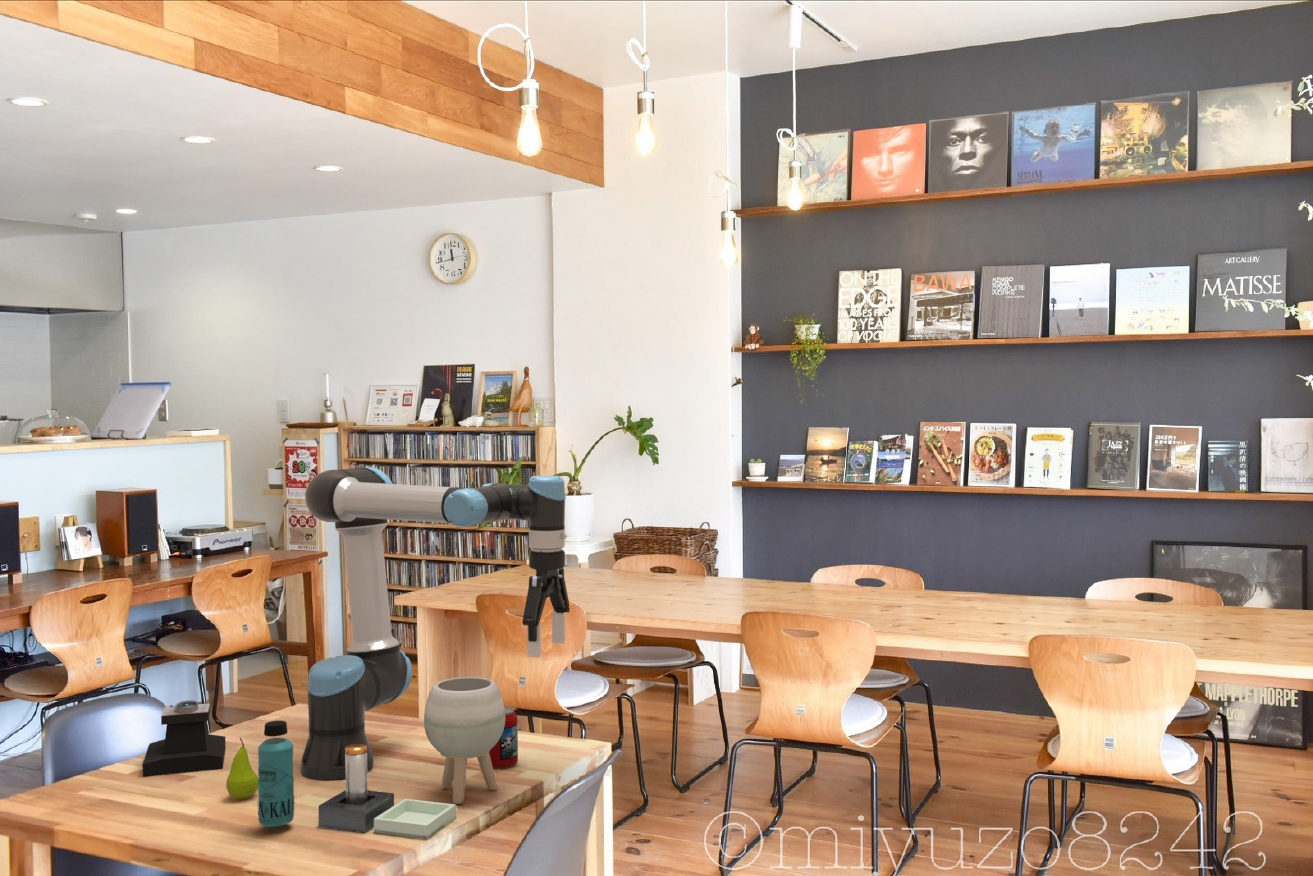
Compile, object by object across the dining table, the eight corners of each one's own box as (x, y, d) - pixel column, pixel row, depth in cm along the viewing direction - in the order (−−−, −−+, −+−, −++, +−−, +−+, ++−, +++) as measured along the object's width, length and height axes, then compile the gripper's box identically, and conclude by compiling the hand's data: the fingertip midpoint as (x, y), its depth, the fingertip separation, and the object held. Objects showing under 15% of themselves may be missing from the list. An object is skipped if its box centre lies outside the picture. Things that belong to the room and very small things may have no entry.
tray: (374, 832, 205) (373, 818, 205) (405, 812, 216) (404, 798, 215) (427, 839, 202) (426, 825, 202) (456, 818, 212) (456, 804, 212)
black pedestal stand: (141, 717, 236) (149, 693, 250) (143, 782, 237) (151, 754, 251) (221, 710, 240) (225, 687, 255) (222, 774, 242) (226, 747, 256)
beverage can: (512, 770, 240) (511, 715, 239) (482, 768, 241) (481, 713, 241) (522, 760, 246) (521, 706, 246) (493, 759, 248) (492, 705, 247)
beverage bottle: (263, 822, 210) (261, 717, 210) (299, 821, 211) (297, 716, 210) (253, 836, 204) (251, 727, 203) (290, 834, 204) (289, 726, 204)
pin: (341, 823, 210) (340, 749, 210) (353, 815, 214) (352, 743, 213) (360, 825, 209) (359, 751, 208) (372, 817, 213) (371, 745, 212)
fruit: (245, 804, 220) (244, 744, 220) (219, 801, 222) (218, 742, 222) (265, 794, 226) (264, 735, 226) (239, 791, 228) (238, 733, 228)
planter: (519, 785, 230) (518, 677, 230) (482, 812, 215) (481, 697, 215) (450, 777, 236) (449, 672, 235) (409, 803, 220) (408, 690, 220)
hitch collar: (318, 827, 208) (318, 805, 208) (349, 808, 218) (348, 788, 217) (365, 833, 205) (365, 811, 205) (394, 814, 215) (393, 793, 214)
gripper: (540, 558, 222) (540, 664, 222) (584, 542, 245) (583, 638, 246) (506, 556, 224) (505, 661, 224) (552, 541, 248) (552, 636, 248)
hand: (546, 649), depth 235 cm, fingers open, 13 cm apart
